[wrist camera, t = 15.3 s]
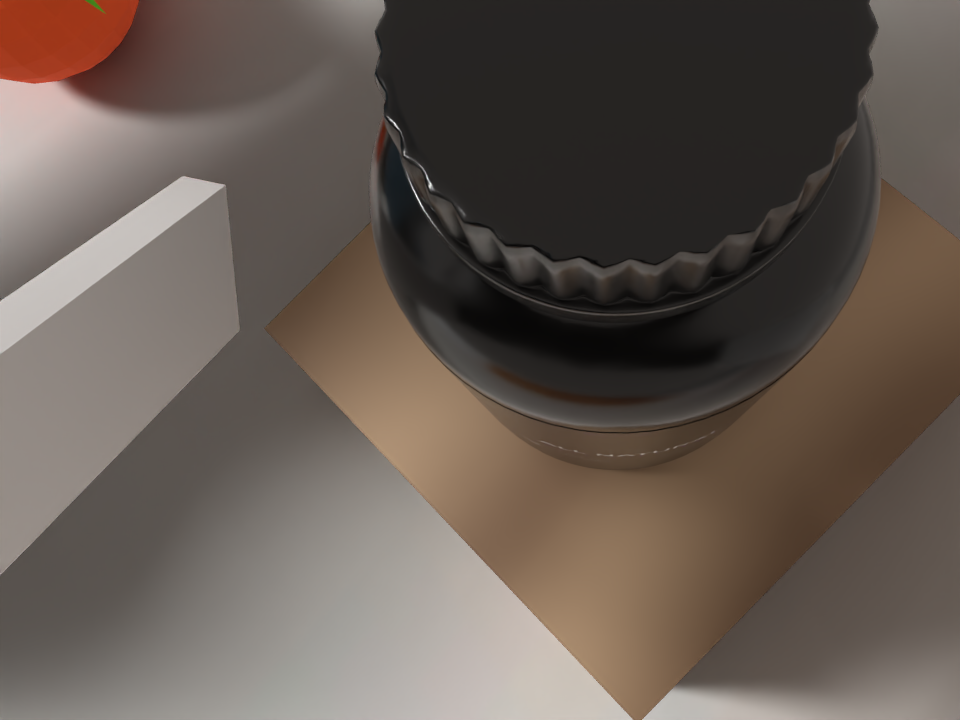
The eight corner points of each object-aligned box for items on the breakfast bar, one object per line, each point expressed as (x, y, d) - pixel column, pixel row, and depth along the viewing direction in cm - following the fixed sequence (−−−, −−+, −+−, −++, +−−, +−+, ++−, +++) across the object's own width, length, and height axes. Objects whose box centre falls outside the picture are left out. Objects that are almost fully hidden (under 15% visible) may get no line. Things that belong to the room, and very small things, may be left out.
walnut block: (331, 366, 26) (263, 328, 21) (622, 74, 27) (621, -28, 22) (635, 684, 23) (637, 723, 19) (959, 353, 24) (1044, 306, 19)
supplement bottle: (594, 539, 19) (544, 550, 8) (405, 301, 21) (131, 15, 9) (847, 337, 19) (1177, 41, 8) (638, 115, 21) (650, -406, 9)
